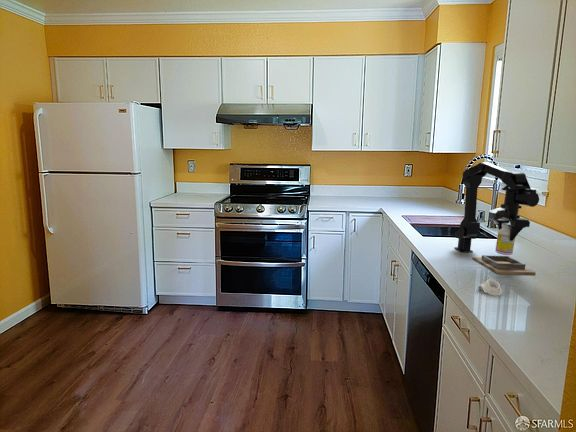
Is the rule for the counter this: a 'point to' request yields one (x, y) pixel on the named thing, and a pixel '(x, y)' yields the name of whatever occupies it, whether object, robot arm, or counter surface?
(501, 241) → the supplement bottle
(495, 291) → the whipped cream
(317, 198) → the counter surface
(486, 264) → the holder board
